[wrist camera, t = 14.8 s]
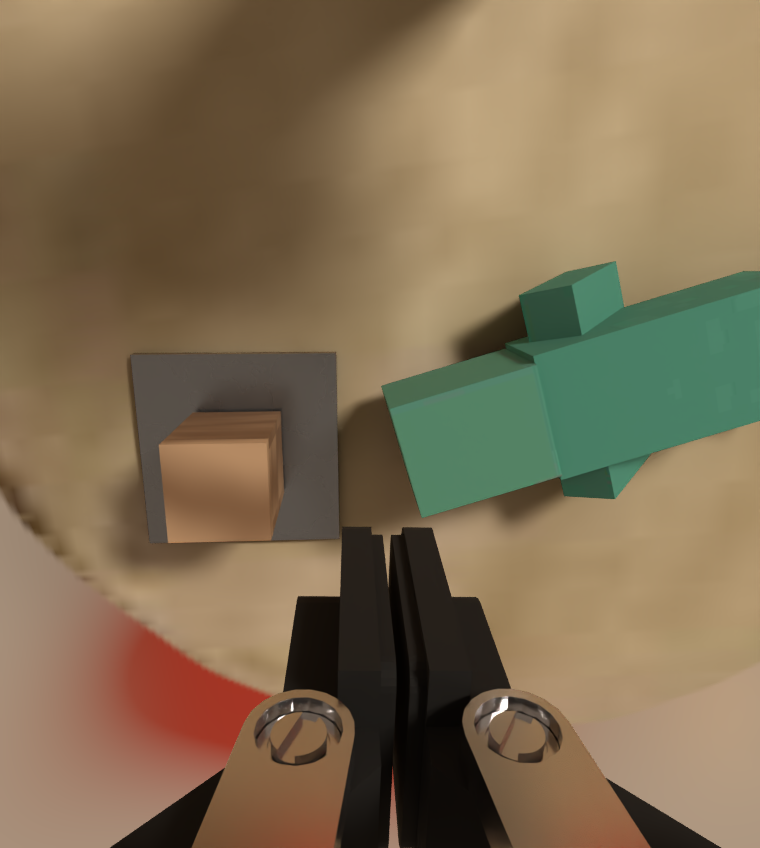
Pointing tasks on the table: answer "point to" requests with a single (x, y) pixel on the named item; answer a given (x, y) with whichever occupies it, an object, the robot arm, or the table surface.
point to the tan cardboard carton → (223, 477)
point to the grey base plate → (248, 392)
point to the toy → (582, 390)
